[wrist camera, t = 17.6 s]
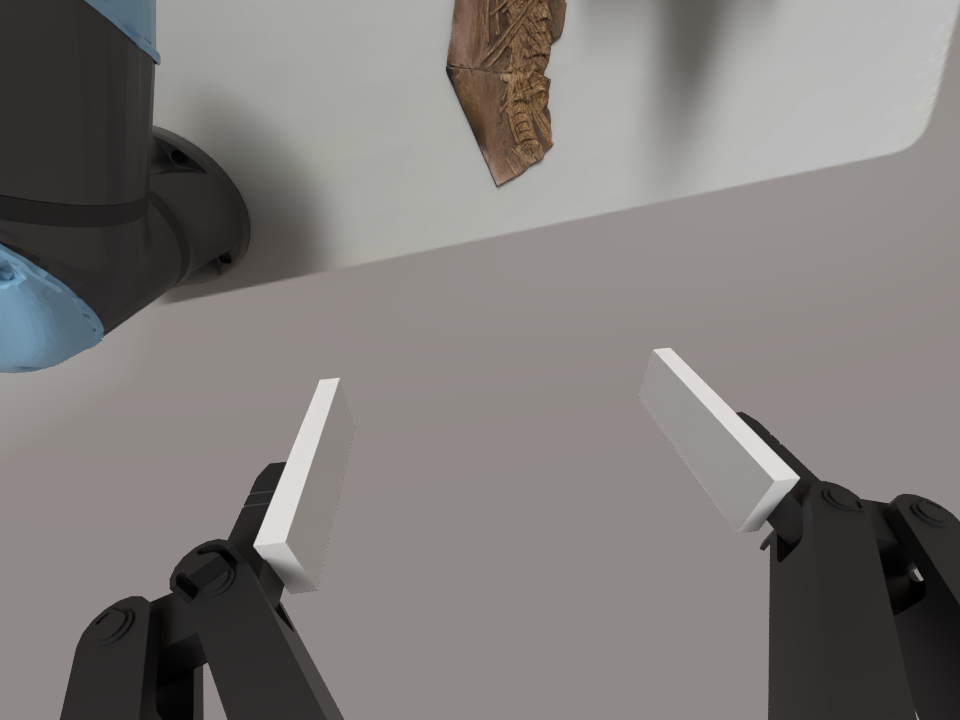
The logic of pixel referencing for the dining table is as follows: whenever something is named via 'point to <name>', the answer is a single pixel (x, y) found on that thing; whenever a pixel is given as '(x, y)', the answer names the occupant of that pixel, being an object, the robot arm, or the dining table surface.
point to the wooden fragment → (505, 77)
